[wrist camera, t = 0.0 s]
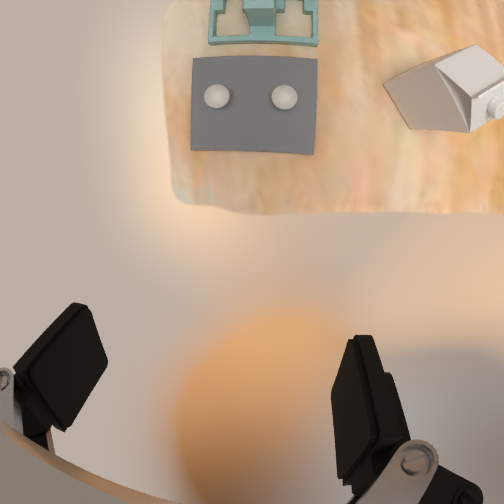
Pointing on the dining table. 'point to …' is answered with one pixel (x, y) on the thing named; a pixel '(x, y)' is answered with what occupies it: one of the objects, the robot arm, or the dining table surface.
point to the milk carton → (451, 91)
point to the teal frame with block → (262, 23)
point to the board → (254, 104)
